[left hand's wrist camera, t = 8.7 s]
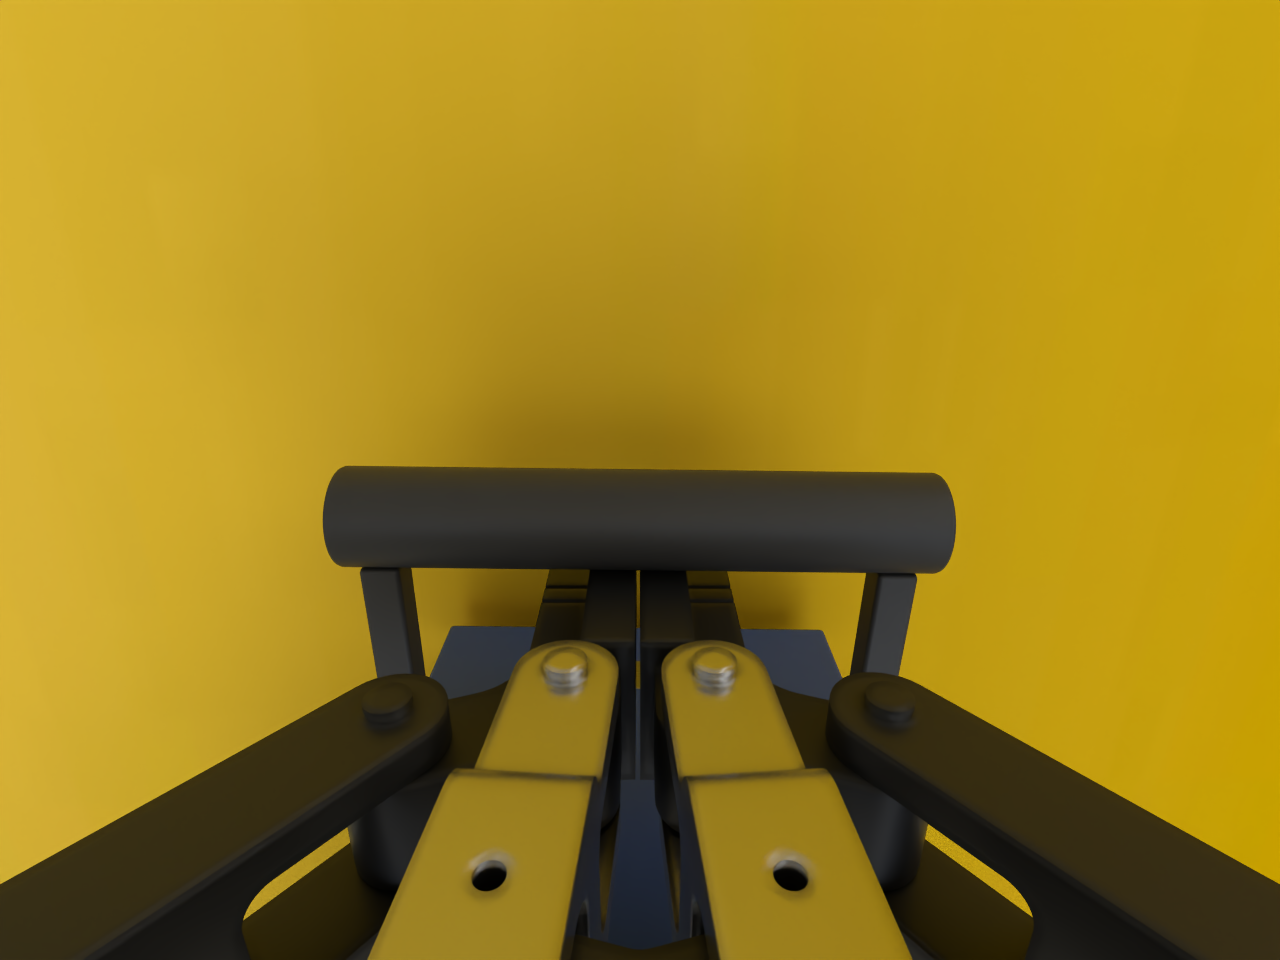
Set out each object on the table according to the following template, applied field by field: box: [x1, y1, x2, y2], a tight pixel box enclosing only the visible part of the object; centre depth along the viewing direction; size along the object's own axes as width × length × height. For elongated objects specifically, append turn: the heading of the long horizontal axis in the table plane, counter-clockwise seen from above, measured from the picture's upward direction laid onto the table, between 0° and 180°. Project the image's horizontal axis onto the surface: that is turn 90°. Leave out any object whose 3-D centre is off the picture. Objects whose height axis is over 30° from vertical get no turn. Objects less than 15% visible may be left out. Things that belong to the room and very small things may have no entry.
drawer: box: [323, 466, 956, 949], centre depth 15 cm, size 23×9×8 cm, turn 179°
